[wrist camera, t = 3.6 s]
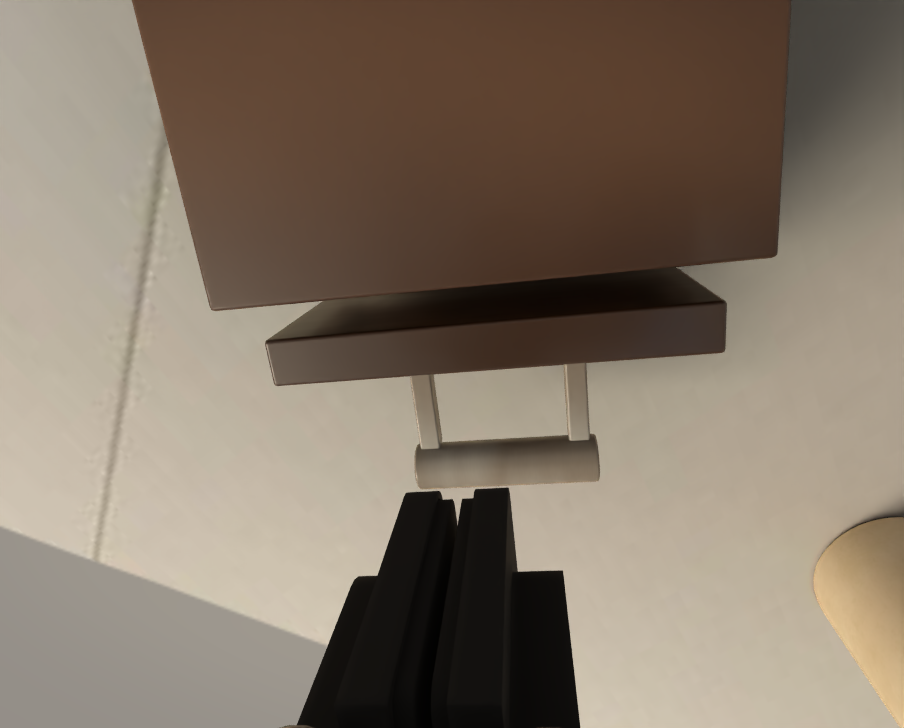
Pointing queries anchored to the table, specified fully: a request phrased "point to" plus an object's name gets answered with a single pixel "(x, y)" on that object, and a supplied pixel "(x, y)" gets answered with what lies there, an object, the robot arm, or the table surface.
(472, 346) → the drawer
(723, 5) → the cabinet
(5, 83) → the table surface
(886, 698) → the candle
